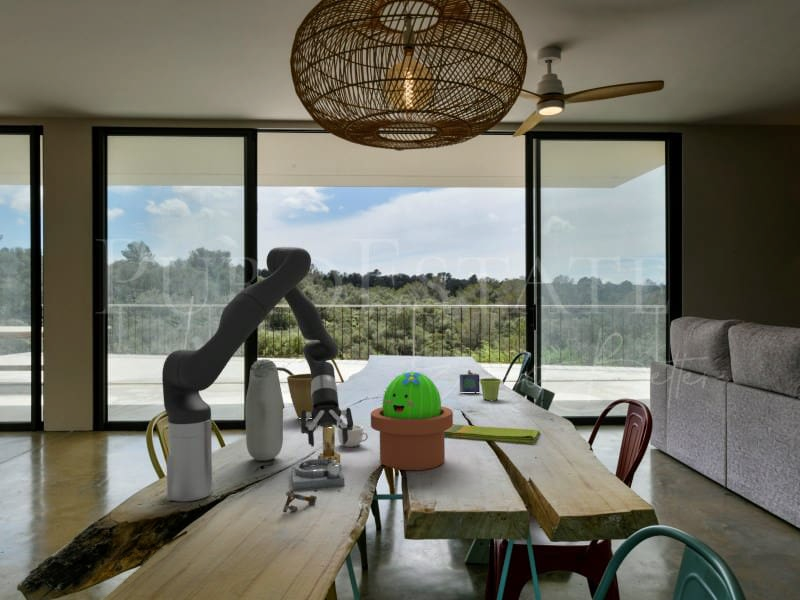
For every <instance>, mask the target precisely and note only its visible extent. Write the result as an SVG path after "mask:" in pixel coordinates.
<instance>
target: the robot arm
mask: <svg viewBox="0 0 800 600" xmlns="http://www.w3.org/2000/svg"><path fill="white" fill-rule="evenodd" d="M311 266H312V258H311V254H310V252H309V251H308V250H306V249H305V248H303V247H302V248H301V247H298V246H297V247H296V246H277V247H274V248H271V249H270V251H269V252H268V253H267V256H266V267H267V271H268V273H269V276H266V277H265V278H263V279H260V280H258V281H256V282H255V283H253V284H251V285H249V286H247V287H245V288H243V290H240V291H239V292H238V294H236V295H235V296H234V297H233V299H231V301H229V302H228V303H227V305H226V306H225V307H224V309H223V310H222V312H221V314H220V315H221V316H220V320H219V323H218V328H217V330H216V332H215V333H214V334H213V335H212V336H211V338H210V339H208V341H207V342H206V343H204V344H203V345H202V346H201V347H200V348H199V349H195V350H193V349H177V350H174V351H173V352H171V353H170V354H168V355H167V356H166V358H165V360H164V363H163V365H162V366H163V367H162V372H161V373H162V374H161V375H162V376H161V379H162V380H161V381H162V394H163V407H164V411H165V412H166V415H167V419H168V420H167V421H168V422H167V423H168V424H167V427H168V431H167V432H168V433H167V435H168V456H167V457H166V492H167V493H166V500H167V501H169V502H170V501H173V502H175V501H176V502H192V501H196V500H201V499H204V498H206V497H208V496H210V495H211V494H212V493H213V464H212V463H213V460H212V459H213V457H212V456H213V453H212V452H213V451H212V447H213V446H212V445H213V444H212V409H211V406H210V405H209V404H208V403H207V402H205V400H203V398H202V396H201V395H200V392H202V391H204V390H207V389H208V388H210V387H211V386H212V385H213V384H214V383H215V382H216V380H217V379H218V378H219V376H220V375H221V374H222V372H223V370H224V369H225V368H226V367H227V365H228V363H229V362H230V360H231V359H232V358H233V356H234V355H235V353H236V352H237V351H238V350H239V349H240V347H242V345H243V344H244V343H245V342H246V340H248V338H249V337H250V335H252V333H253V332H254V331H255V330H257V328H258V327H259V326H260V324H262V322H263V321H264V320H266V318H267V316H268V315H269V314H270V313H271V312H272V311H273V309H274V308H275V307H276V306H277V305H278V304H279V302H281V301H282V300H283V298H284V299H285V301H286V303H287V304H288V306H289V308H290V309H291V311H292V313H293V316H294V319H295V320H296V324H297V326H298V328H299V331H300V332H301V333H300V334H301V336H302V337H303V339H304V340H308V341H309V342H307V343H306V344H305V345H304V347H303V348H302V349H303V351H302V352H303V356H304V359H305V361H306V362H307V365H308V367H309V372H310V374H311V397H312V412H306V411H305V410H303V411H302V415H301V424H300V425H301V426H300V428H301V429H300V432H301V434H307V440H308V445H309V446H310V447H313V448H314V446H315V436H314V432H315V431H316V430H317V429H318V428H319V427H321V428H323V427H324V426H334V427H336V428H337V429H338V428H339V429H340V430H341V431H342V441H343V444H346V442H347V441H348V433H347V431H349V430H350V431H351V430H352V429H353V425H354V420H353V414H352V410H351V408H350V407H347V408H346V409H342V410H341V409H340V404H339V403H340V402H339V396H338V395H339V394H338V387H337V382H336V376H335V368H334V365H333V364H332V363H331V362H330V361H331V360H334V359H336V358H337V357H338V354H339V347H338V344H337V342H336V341H335V339H334V338H333V337H332V335H331V334H330V333H329V332H328V330H327V329H326V327H325V325H324V323H323V320H322V318H321V315H320V312H319V310H318V309H317V307H316V305H315V304H314V303H313V301H312V300H311V299H310V298H309V296H307V295H306V294H305V293H304V292H303V291H302V290H301V288H300V287H299V285H298V284H300V283H301V281H302V280H304V279H305V278H306V276H307V275H308V274H309V272H310V269H311ZM341 416H343V418H345V419H346V422H344V421H343V419H342V418H341ZM309 417H311V418H312V419H313V420H312V421H311V424H310V425H309V426H307V421H309V420H308V419H309ZM346 423H347V424H346Z"/></svg>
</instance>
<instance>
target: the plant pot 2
mask: <svg viewBox="0 0 800 600" xmlns="http://www.w3.org/2000/svg"><path fill="white" fill-rule="evenodd" d="M501 382H502V379H501V378H496V377H495V378H494V377H492V378H491V377H488V378H487V377H486V378H479V384H480V386H481V391H482V398H483V400H484V399H486V400H485V401H488V400H494V401H497V400H498V399H499V397H498V396H499V391H500V385H501ZM496 399H497V400H496Z"/></svg>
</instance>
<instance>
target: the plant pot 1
mask: <svg viewBox="0 0 800 600" xmlns="http://www.w3.org/2000/svg"><path fill="white" fill-rule="evenodd" d="M286 379H287V380H286V381H287V385H288V390H289V394H290V395H289V396H290V398H291V402H292V405H293V408H294V411H295V413H296V416H297V418H298V417H299V418H301V415H302V411H303V410H305V411H306V412H312V397H311V373H300V374H299V373H298V374H293V375H288V376H287V377H286ZM309 418H311V417H309Z"/></svg>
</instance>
